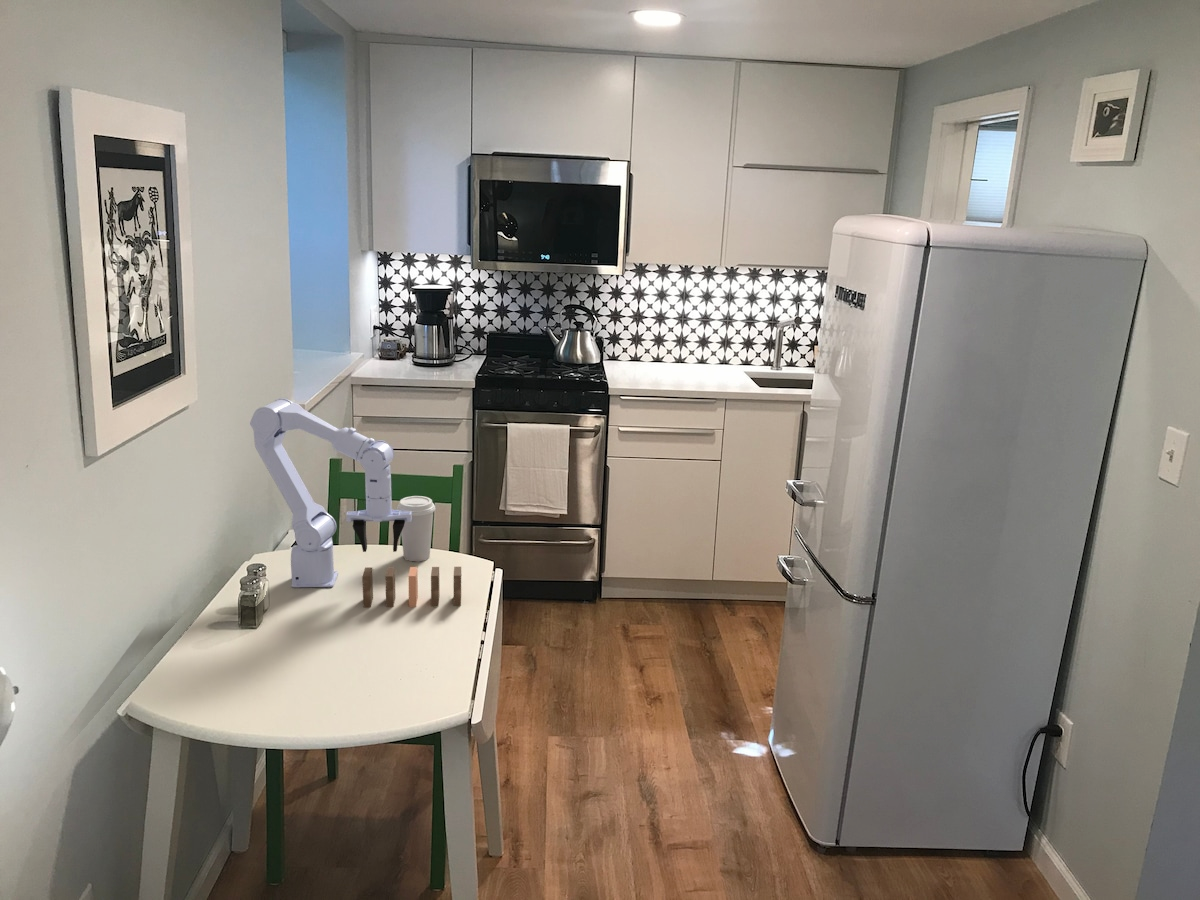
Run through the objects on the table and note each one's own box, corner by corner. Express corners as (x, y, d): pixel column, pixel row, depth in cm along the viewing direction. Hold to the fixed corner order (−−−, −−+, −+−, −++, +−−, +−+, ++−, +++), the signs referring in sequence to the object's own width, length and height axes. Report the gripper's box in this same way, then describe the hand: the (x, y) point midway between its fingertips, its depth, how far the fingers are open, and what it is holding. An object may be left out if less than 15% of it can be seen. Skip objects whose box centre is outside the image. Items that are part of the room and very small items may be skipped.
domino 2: (386, 607, 210) (385, 576, 208) (388, 597, 215) (387, 567, 213) (393, 606, 211) (392, 576, 208) (395, 597, 215) (394, 567, 213)
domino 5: (453, 606, 212) (453, 575, 210) (454, 596, 217) (454, 566, 215) (460, 605, 212) (460, 575, 210) (461, 596, 217) (461, 566, 215)
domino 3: (408, 606, 211) (408, 576, 209) (410, 597, 216) (410, 567, 214) (416, 606, 211) (415, 576, 209) (417, 597, 216) (417, 567, 214)
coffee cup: (390, 560, 235) (389, 504, 231) (408, 547, 244) (407, 492, 239) (425, 566, 232) (424, 509, 228) (442, 552, 241) (441, 497, 237)
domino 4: (431, 606, 212) (430, 575, 209) (432, 596, 216) (432, 566, 214) (438, 606, 212) (438, 575, 210) (439, 596, 216) (439, 566, 214)
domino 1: (363, 607, 210) (362, 576, 208) (366, 597, 214) (365, 567, 212) (370, 607, 210) (369, 576, 208) (373, 597, 215) (372, 567, 213)
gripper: (343, 500, 209) (345, 557, 213) (409, 500, 211) (410, 556, 214) (347, 490, 216) (349, 545, 219) (411, 490, 217) (412, 544, 221)
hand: (380, 550), depth 217 cm, fingers open, 6 cm apart
